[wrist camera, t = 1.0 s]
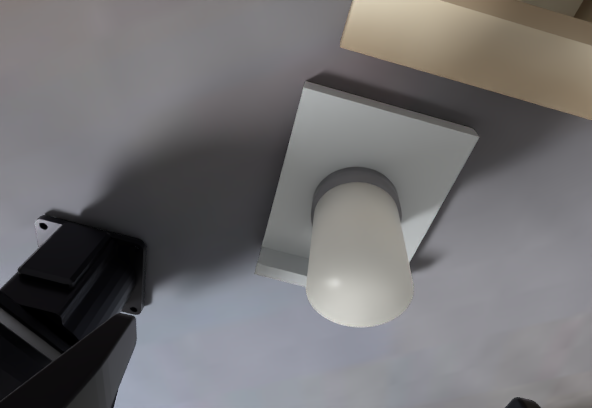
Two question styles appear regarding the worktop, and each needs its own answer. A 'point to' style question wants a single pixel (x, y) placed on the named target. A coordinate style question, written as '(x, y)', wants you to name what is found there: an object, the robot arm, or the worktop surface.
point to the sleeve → (358, 250)
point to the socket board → (486, 44)
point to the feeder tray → (359, 153)
